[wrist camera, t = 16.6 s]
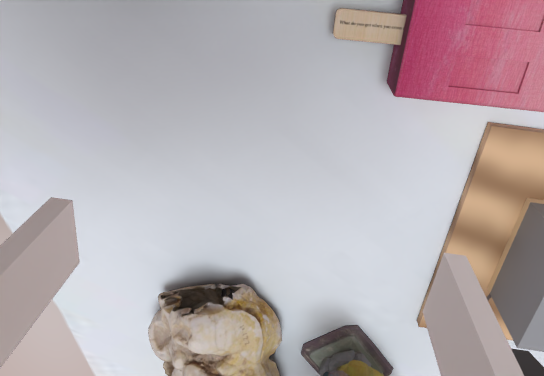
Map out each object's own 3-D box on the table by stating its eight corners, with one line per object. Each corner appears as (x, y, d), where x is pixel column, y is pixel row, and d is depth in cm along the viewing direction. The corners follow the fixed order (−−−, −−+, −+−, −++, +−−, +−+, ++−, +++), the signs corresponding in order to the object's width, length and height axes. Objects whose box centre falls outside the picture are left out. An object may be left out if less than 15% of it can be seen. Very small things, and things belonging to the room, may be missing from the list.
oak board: (488, 122, 40) (491, 126, 39) (647, 143, 40) (654, 147, 39) (417, 320, 52) (418, 326, 51) (540, 338, 51) (544, 344, 50)
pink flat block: (345, -40, 31) (641, -12, 31) (341, -42, 36) (601, -17, 35) (326, 90, 36) (585, 117, 35) (325, 75, 40) (556, 99, 39)
